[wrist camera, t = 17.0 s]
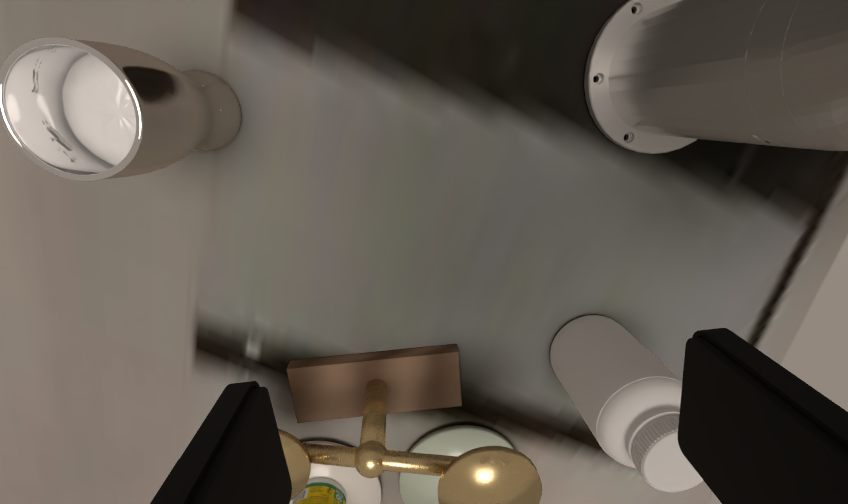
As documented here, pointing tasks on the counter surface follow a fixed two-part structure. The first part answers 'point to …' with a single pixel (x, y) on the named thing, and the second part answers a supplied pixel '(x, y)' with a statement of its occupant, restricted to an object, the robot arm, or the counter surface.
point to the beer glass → (109, 109)
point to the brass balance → (391, 393)
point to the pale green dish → (447, 441)
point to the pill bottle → (624, 399)
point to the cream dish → (348, 480)
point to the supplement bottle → (321, 493)
